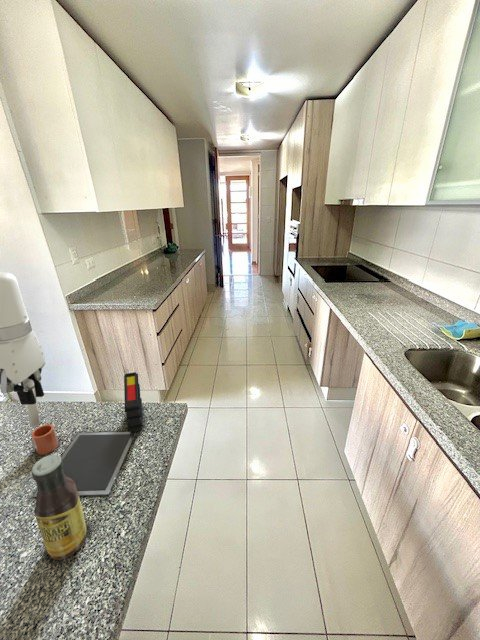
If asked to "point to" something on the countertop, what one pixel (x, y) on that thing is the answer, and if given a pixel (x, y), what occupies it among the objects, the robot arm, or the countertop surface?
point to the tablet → (95, 460)
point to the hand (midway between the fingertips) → (33, 399)
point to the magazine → (133, 402)
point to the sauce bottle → (58, 508)
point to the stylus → (33, 408)
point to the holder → (44, 439)
